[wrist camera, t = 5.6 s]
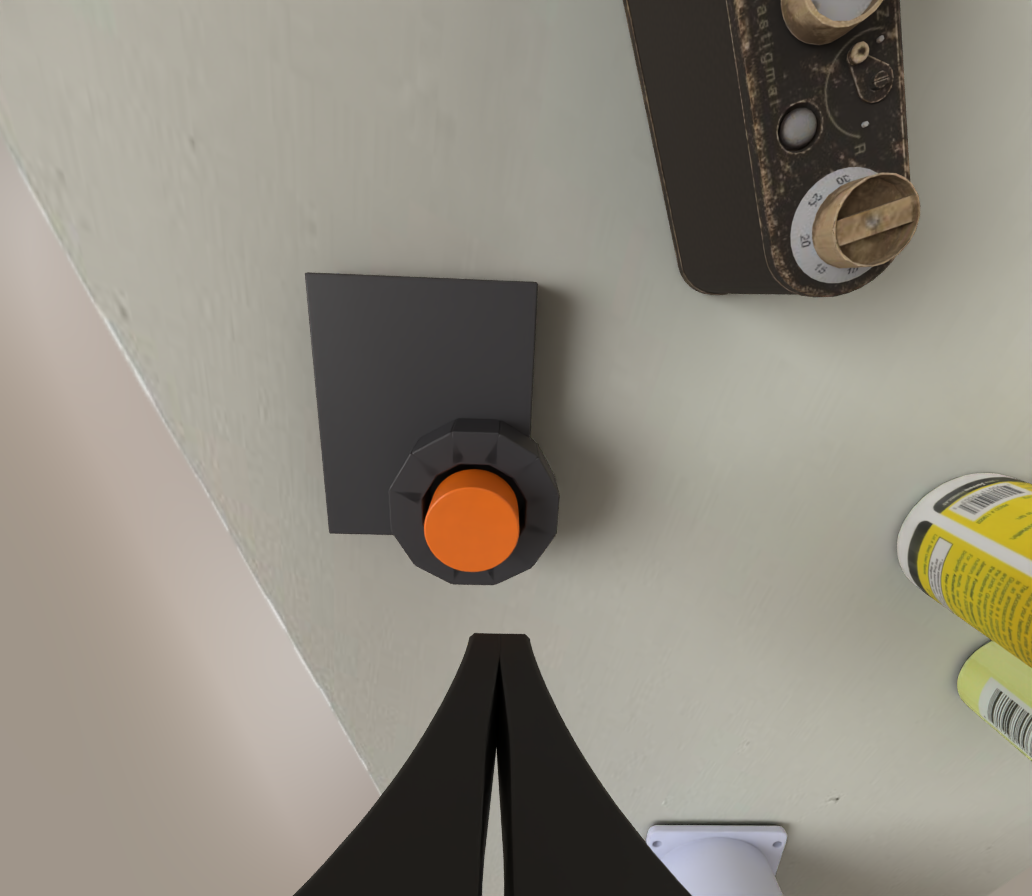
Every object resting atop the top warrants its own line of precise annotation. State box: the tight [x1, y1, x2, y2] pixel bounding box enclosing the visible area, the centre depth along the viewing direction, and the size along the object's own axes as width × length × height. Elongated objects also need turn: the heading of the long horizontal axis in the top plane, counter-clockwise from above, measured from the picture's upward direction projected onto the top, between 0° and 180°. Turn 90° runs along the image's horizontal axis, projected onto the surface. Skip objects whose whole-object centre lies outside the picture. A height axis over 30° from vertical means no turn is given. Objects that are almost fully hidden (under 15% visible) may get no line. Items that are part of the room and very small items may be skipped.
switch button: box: [424, 469, 519, 572], centre depth 17 cm, size 3×3×2 cm
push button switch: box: [305, 273, 559, 585], centre depth 18 cm, size 11×9×4 cm
